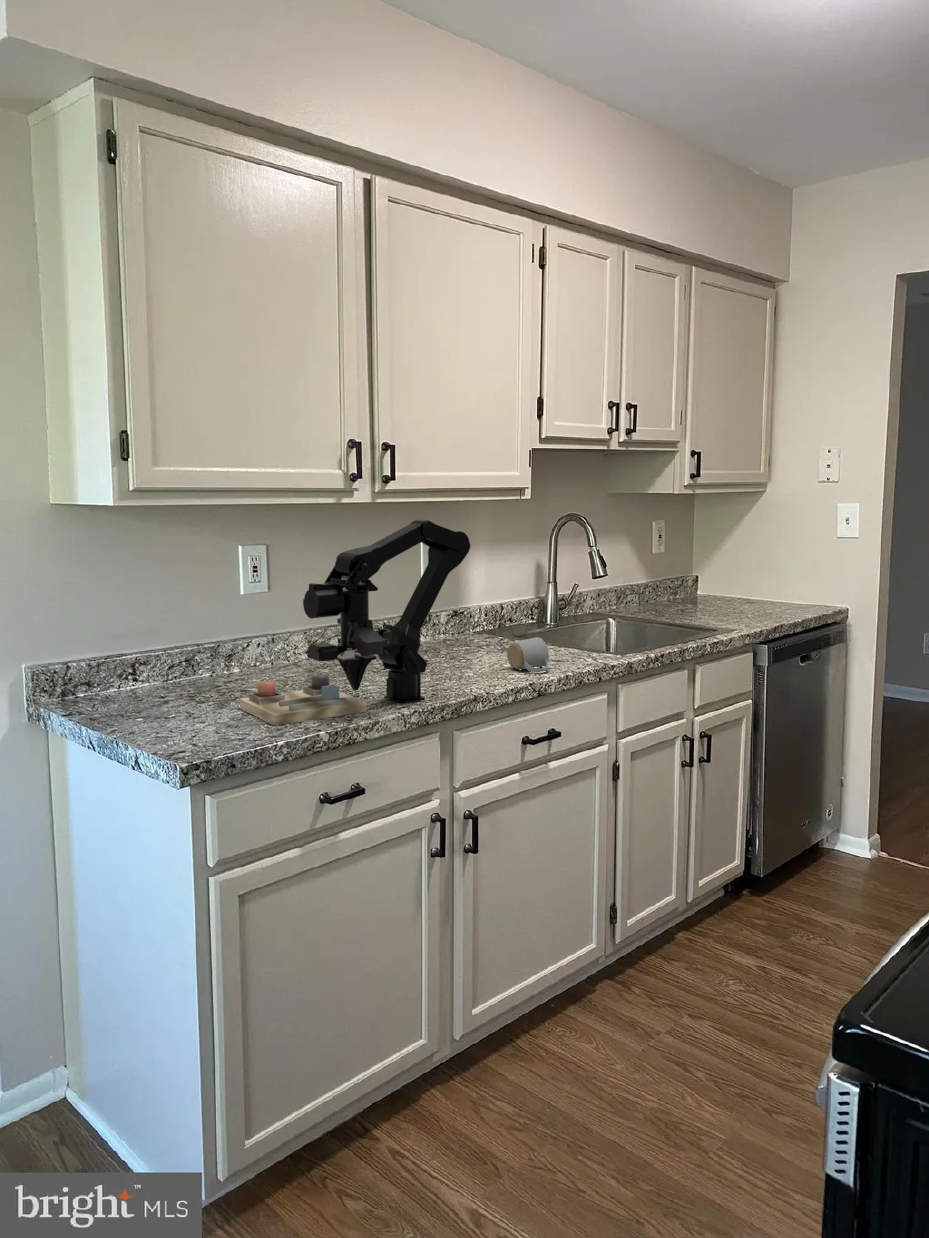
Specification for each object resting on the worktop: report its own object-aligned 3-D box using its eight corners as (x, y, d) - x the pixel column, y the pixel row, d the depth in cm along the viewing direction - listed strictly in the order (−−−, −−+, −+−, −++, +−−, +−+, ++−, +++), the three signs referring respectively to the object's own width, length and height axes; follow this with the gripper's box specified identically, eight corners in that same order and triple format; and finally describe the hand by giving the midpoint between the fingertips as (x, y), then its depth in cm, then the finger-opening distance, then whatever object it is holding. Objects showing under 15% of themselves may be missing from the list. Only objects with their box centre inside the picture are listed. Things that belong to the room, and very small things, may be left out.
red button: (271, 690, 197) (271, 680, 197) (278, 693, 194) (278, 683, 194) (254, 692, 195) (254, 682, 195) (262, 696, 192) (261, 685, 192)
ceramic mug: (504, 668, 240) (505, 637, 239) (531, 664, 244) (532, 635, 243) (529, 676, 231) (530, 644, 230) (556, 672, 235) (557, 641, 234)
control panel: (327, 695, 208) (327, 681, 207) (366, 711, 194) (366, 695, 194) (239, 708, 197) (239, 692, 196) (274, 725, 183) (274, 709, 182)
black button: (324, 683, 204) (323, 673, 204) (332, 686, 201) (331, 676, 201) (308, 685, 202) (308, 675, 202) (316, 688, 199) (316, 678, 199)
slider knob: (332, 698, 196) (332, 684, 195) (339, 701, 193) (339, 687, 193) (321, 699, 194) (321, 686, 194) (328, 702, 192) (328, 688, 191)
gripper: (331, 622, 183) (332, 703, 185) (415, 615, 193) (415, 691, 196) (305, 616, 192) (307, 692, 194) (386, 609, 202) (387, 682, 205)
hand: (355, 690), depth 197 cm, fingers closed
